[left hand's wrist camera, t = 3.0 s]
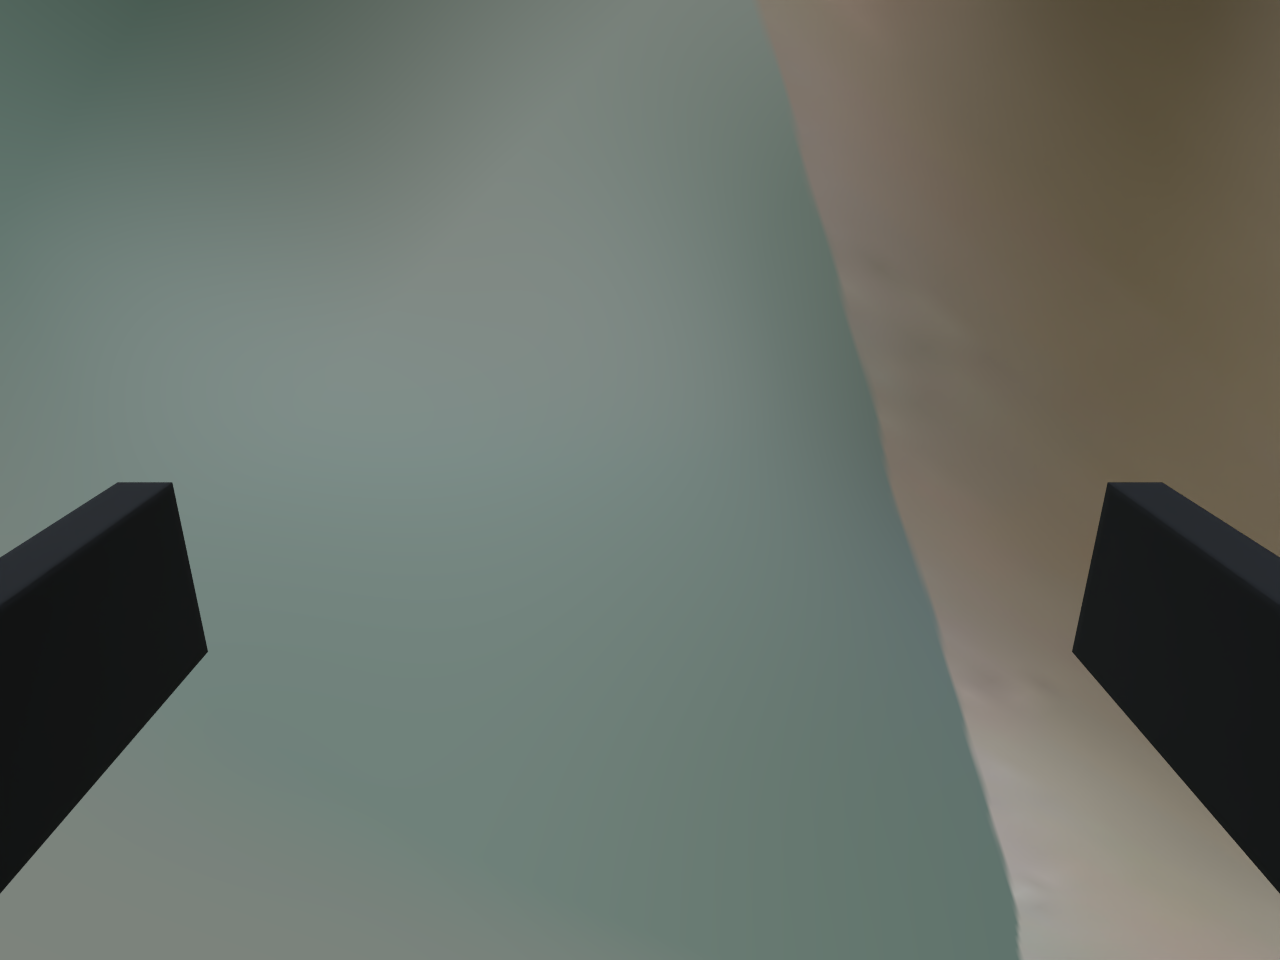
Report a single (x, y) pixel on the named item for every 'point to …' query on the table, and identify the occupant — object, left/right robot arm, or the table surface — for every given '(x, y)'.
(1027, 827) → the table surface
